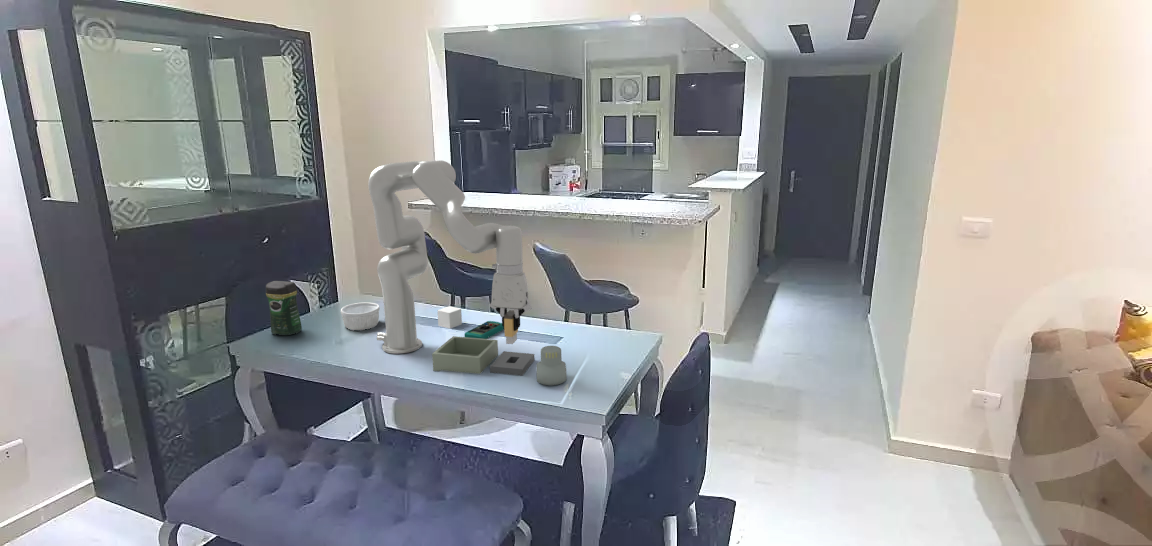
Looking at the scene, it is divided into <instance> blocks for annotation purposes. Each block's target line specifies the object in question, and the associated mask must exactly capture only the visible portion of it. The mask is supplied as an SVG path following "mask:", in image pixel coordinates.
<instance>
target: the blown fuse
mask: <svg viewBox="0 0 1152 546" xmlns="http://www.w3.org/2000/svg"><path fill="white" fill-rule="evenodd" d="M514 316H515V312H514V309H509V310H507V313H506V314H505V315H504V330H503V332H504V337H505V343H506V345H513V344H514V343H515V342H517V340H518V337H517V335H518V332H519V328H518V329H517V330H516V331H514V323H513V319H514Z"/></svg>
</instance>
